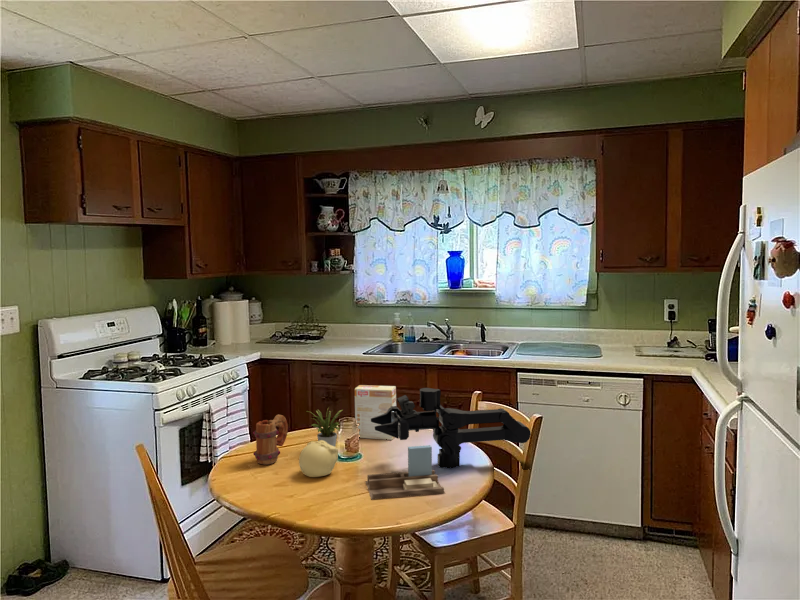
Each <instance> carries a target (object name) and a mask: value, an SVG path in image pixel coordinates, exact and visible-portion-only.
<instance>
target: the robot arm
mask: <svg viewBox="0 0 800 600" xmlns="http://www.w3.org/2000/svg"><path fill="white" fill-rule="evenodd" d="M441 395H442V391H441V389H439V388H431V387H422V388H419V407H420V408H422V410H423V411H416V410H415V409H414V408H416V405H415V403H414V402H413V401H412V400H411V401H410V399H409V397H408V396H407V394H404V395H402V396H399V397H396V402H398V404H399V407H400V408H399V407H397V405H396V406H391V407H390V408H389V409H388V411H387V412H386V413H385V414H382V415H380V416H377V417H374V418H371V422H373V423H377V424H381V425H378V426H375V430H376V431H379V432H382V433H385V434H388V435H390V436H393V437H394V439H395V438H396V439H397V440H400V441H405V440H407V439H408V438H409V437H410V431H414V432H416V433H420V432H419V431H422V430H432V433H433V434H432V439H433V440H434V442H435V443H436V445H437V446H438V447H440V448H438V453H437V466H438V468H442V469H449V470H451V469H456V468H457V467H460V466H461V465H460V464H461V463H460V462H461V461H460V460H461V459H460V458H461V456H460V453H461V450H462V447H461V446H460V445H461V444H466V443H481V442H482V443H483V442H492V441H493V442H494V441H506V442H510V443H517V444H525V443H528V441H529V440H530V438H531V435H532V434H531V433H532V432H531V430H530V428H529V427H527V426H526V425H525V424H524V423H522V422H521V421H518V420H516V419H515V418H514V417H513V416H511V414H510V413H509V412H508V411H507V410H506V409H504V408H502V407H500V408H494V409H478V410H477V409H476V410H461V409H458V408H452V407H451V408H450V407H446V408H445V407H443V406H442V404H441ZM437 414H438V416H437ZM440 423H441V426H440ZM494 423H495V424H496V423H501V424H502V425H500V426H491V427H476V428H463V427H465V426H468V425H481V424H483V425H484V424H494ZM460 428H461V429H460ZM462 428H463V429H462Z"/></svg>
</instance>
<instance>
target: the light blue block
mask: <svg viewBox="0 0 800 600" xmlns="http://www.w3.org/2000/svg"><path fill="white" fill-rule="evenodd" d="M432 449H433V448H432V446H431V445H430V444H429V445H415V446H407V466H408V467H407V469H408V470H407V472H408V477H410V476H423V475H432V470H433V456H432V455H433V454H432V452H433V451H432Z"/></svg>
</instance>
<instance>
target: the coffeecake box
mask: <svg viewBox="0 0 800 600" xmlns="http://www.w3.org/2000/svg"><path fill="white" fill-rule="evenodd" d="M391 406H396V407H397V386H396V385H375V384H374V385H371V384H370V385H367V384H359V385H357V386H356V387H355V388H354V420H355V419H356V420H357V423H358V424H359V426H358V429H359V435H360V438H359V439H371V440H373V439H374V440H375V439H376V440H386V439H387V440H386V441H389V440H390V441H393V440H394V439H395V437H393V436H390V435H388V434H385V433H382V432H379V431H376V430H375V426H378V425H381V424H377V423H373V422H371V418H374V417H377V416H380V415H382V414H385V413H386V412H387V411H388V409H389V408H390V407H391Z"/></svg>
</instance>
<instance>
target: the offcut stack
mask: <svg viewBox="0 0 800 600" xmlns="http://www.w3.org/2000/svg"><path fill="white" fill-rule="evenodd" d="M434 487H439V486H438V485H437V483H436V481H433V482H432V480H431V478H425V479H413V480H404V484H403V489H404V490H410V489H422V488H434Z"/></svg>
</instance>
